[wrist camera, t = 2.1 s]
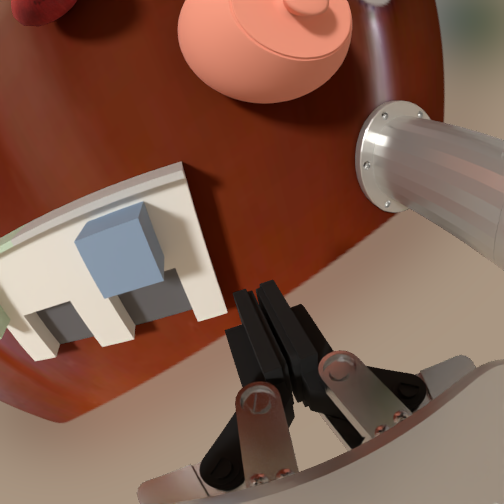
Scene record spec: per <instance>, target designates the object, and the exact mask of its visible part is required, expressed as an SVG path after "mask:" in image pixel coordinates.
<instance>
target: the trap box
mask: <svg viewBox="0 0 504 504" xmlns="http://www.w3.org/2000/svg"><path fill="white" fill-rule="evenodd" d="M142 201H144V204H145V207H146V209H147V212H148V215H149V218H150V220H151V223H152V226H153V229H154V231H155V234H156V236H157V239H158V242H159V244H160V247H161V249H162V252H163V254H164V281H162V282H158V283H155V284H152V285H148V286H145V287H142V288H139V289H135V290H132V291H129V292H125V293H122V294H119V295H116V296H112V297H109V298H106V299H104V297H103V296H102V294H101V292H100V290H99V289H98V287H97V285H96V283H95V282H94V280H93V278H92V276H91V274H90V272H89V271H88V269H87V267H86V265H85V263H84V261H83V259H82V257H81V255H80V253H79V251H78V249H77V247H76V245H75V243H74V241H75V239H76V238H77V236H78V235H79V233H80V232H81V230H82V229H83V227H84V226H85V224H86V223H87V222H88V221H91V220H93V219H96V218H98V217H101V216H104V215H106V214H109V213H111V212H114V211H117V210H120V209H122V208H125V207H128V206H131V205H133V204H136V203H139V202H142ZM191 309H193V311H194V313H195V315H196V318H197V320H198V322H199V321H202V320H205V319H209V318H212V317H215V316H219V315H222V314H225V313H228V312H227V309H226V306H225V302H224V299H223V295H222V293H221V290H220V287H219V283H218V280H217V277H216V274H215V271H214V268H213V265H212V262H211V259H210V256H209V253H208V249H207V246H206V243H205V240H204V237H203V233H202V230H201V227H200V223H199V220H198V217H197V213H196V210H195V207H194V203H193V200H192V197H191V193H190V190H189V186H188V183H187V179H186V175H185V172H184V168H183V165H182V162H178V163H175V164H172V165H169V166H166V167H162V168H159V169H156V170H153V171H150V172H147V173H144V174H142V175H139V176H136V177H133V178H130V179H128V180H125V181H122V182H119V183H117V184H114V185H112V186H109V187H106V188H104V189H101V190H99V191H96V192H94V193H92V194H89V195H87V196H84V197H82V198H80V199H78V200H75V201H73V202H71V203H68V204H66V205H64V206H62V207H60V208H58V209H55V210H53V211H51V212H49V213H47V214H45V215H43V216H41V217H39V218H37V219H35V220H33V221H31V222H29V223H27V224H25V225H23V226H21V227H20V228H18V229H16V230H14V231H12V232H10V233H9V234H7V235H5V236H3V237H2V238H0V339H2V336H3V334H4V332H5V330H6V328H8V329H9V330H10V332H11V333H12V334H13V336H14V337H15V338H16V339H17V341H18V342H19V343H20V344H21V345H22V347H23V348H24V349H25V350H26V351H27V353H28V354H29V355H30V356H31V357H32V358H33V359H34V361H39V360H44V359H49V358H54V357H56V356H57V353H58V349H59V346H60V344H63V343H68V342H72V341H76V340H80V339H84V338H88V337H92V336H95V338H96V339H97V340H98V342H99V343H100V344H101V346H102V347H104V346H109V345H113V344H117V343H121V342H125V341H129V340H133V339H134V336H135V325H138V324H142V323H145V322H149V321H153V320H156V319H160V318H163V317H167V316H170V315H174V314H177V313H181V312H184V311H188V310H191Z"/></svg>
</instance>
